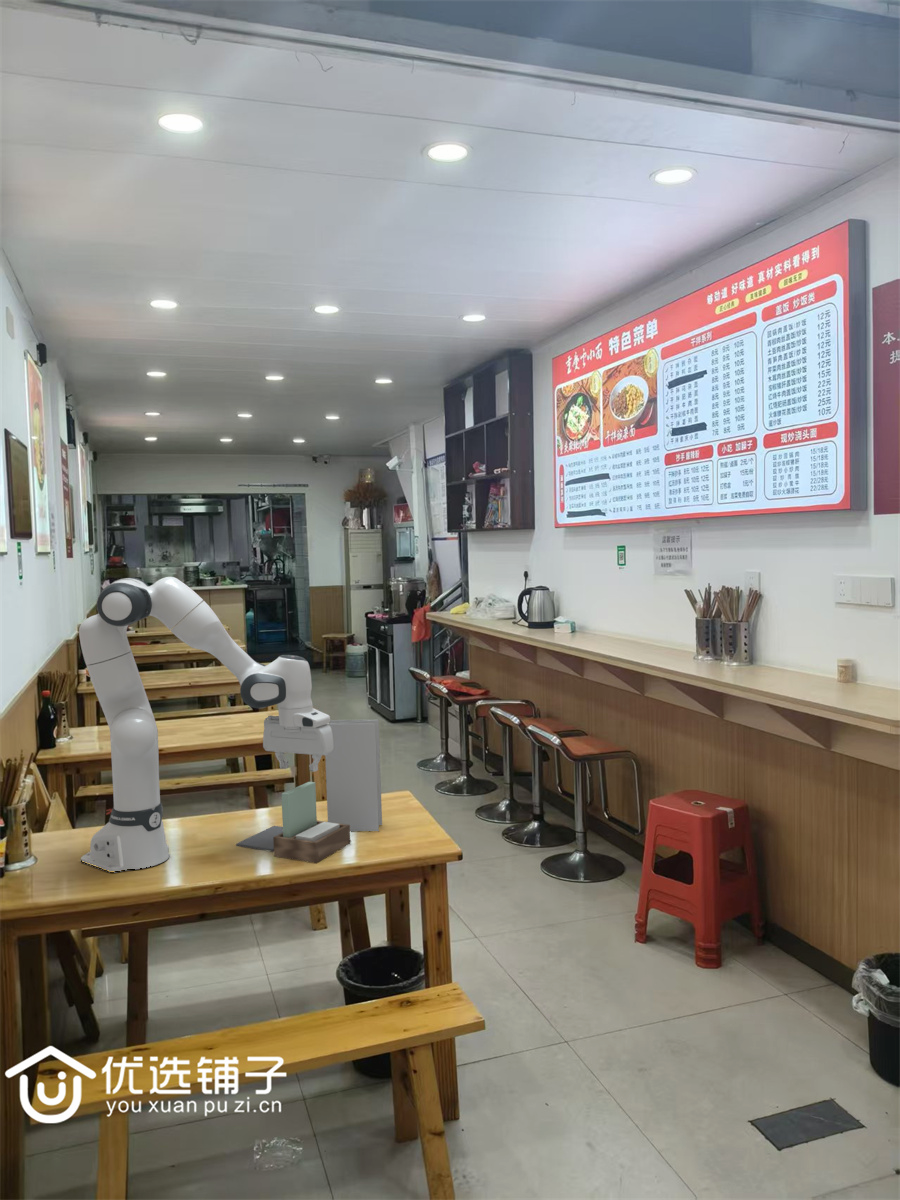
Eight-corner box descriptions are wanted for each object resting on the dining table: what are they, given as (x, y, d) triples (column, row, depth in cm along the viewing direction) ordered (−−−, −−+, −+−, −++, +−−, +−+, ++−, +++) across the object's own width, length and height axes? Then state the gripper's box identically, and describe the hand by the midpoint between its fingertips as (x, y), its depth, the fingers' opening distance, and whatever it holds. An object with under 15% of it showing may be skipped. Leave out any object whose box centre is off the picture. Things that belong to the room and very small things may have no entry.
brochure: (382, 825, 240) (378, 719, 239) (378, 831, 235) (375, 723, 233) (332, 825, 242) (329, 720, 240) (328, 831, 236) (324, 724, 234)
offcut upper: (296, 847, 216) (295, 835, 216) (324, 832, 227) (324, 821, 227) (311, 849, 214) (311, 838, 214) (340, 835, 224) (339, 823, 224)
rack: (274, 856, 217) (273, 837, 217) (309, 837, 231) (309, 819, 231) (316, 863, 212) (315, 843, 211) (350, 843, 226) (349, 824, 225)
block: (283, 855, 218) (281, 793, 217) (311, 840, 229) (309, 781, 228) (290, 856, 217) (287, 794, 216) (317, 841, 228) (315, 782, 227)
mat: (236, 845, 226) (236, 843, 226) (273, 827, 241) (273, 825, 241) (272, 851, 221) (272, 849, 221) (309, 832, 235) (309, 830, 235)
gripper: (256, 717, 223) (259, 769, 224) (321, 721, 214) (324, 775, 215) (271, 712, 229) (274, 763, 229) (335, 716, 220) (338, 769, 220)
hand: (298, 769), depth 222 cm, fingers open, 8 cm apart
